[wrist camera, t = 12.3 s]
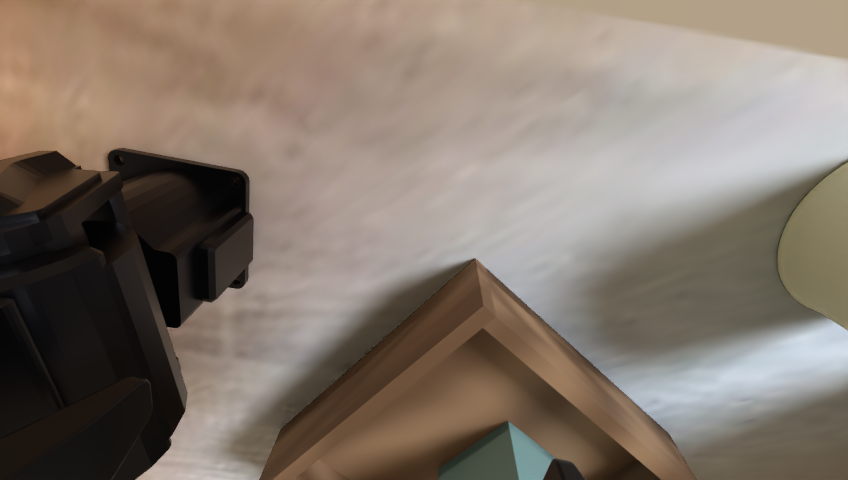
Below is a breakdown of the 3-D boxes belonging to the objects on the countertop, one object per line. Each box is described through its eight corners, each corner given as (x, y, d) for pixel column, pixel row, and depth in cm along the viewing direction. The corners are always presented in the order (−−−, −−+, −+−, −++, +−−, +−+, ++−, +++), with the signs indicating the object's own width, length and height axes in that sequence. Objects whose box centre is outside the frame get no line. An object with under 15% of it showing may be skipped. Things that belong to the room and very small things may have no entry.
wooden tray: (280, 430, 27) (252, 496, 23) (475, 258, 22) (483, 305, 18) (467, 550, 32) (471, 623, 28) (668, 433, 26) (711, 504, 22)
